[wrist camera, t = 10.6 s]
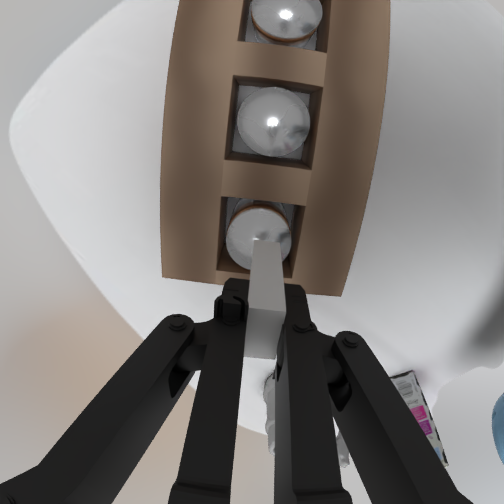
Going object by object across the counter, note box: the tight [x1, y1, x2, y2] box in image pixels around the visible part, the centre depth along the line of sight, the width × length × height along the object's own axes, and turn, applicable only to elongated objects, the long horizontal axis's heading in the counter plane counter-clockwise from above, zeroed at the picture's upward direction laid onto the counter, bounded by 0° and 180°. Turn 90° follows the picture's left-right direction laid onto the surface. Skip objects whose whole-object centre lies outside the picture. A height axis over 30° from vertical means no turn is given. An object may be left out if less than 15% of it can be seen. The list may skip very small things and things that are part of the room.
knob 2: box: [237, 87, 310, 156], centre depth 18 cm, size 4×4×5 cm
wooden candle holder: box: [160, 0, 390, 297], centre depth 18 cm, size 14×24×5 cm, turn 174°
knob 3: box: [226, 198, 291, 270], centre depth 22 cm, size 4×4×5 cm
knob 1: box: [251, 0, 322, 48], centre depth 15 cm, size 4×4×5 cm
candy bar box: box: [390, 371, 449, 468], centre depth 28 cm, size 11×5×16 cm, turn 15°
